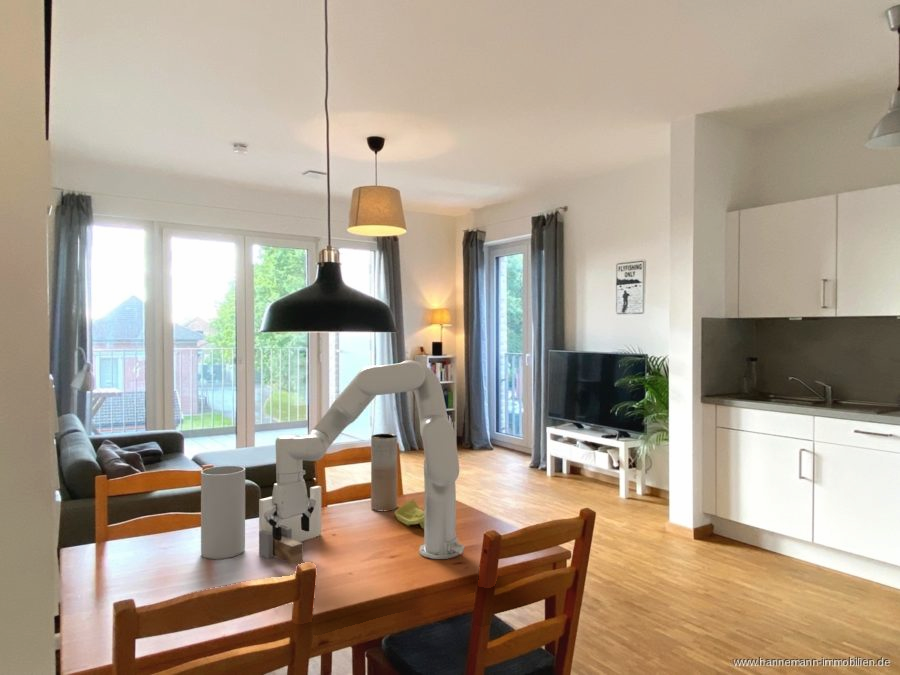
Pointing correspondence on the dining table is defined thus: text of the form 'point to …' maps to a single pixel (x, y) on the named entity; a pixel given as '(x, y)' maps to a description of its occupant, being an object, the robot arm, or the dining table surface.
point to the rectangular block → (288, 550)
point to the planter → (384, 471)
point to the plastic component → (410, 514)
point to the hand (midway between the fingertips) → (291, 535)
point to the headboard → (288, 524)
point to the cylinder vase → (222, 512)
